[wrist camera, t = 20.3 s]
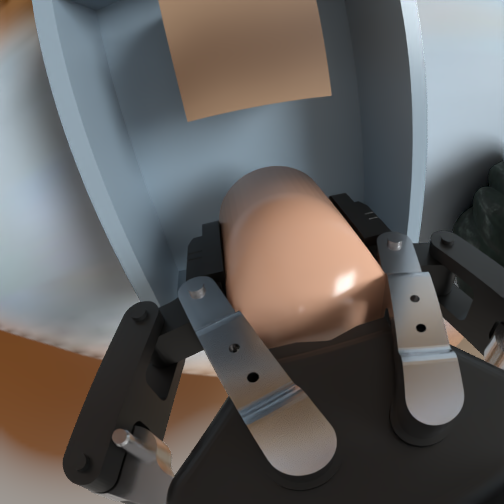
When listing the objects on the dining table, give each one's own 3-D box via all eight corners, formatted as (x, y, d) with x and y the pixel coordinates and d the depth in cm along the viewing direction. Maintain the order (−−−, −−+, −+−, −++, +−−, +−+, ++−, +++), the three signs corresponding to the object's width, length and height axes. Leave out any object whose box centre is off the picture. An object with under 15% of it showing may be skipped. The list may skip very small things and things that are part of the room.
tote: (84, 6, 10) (30, -12, 5) (341, -41, 10) (397, -71, 5) (171, 275, 20) (165, 344, 15) (369, 229, 20) (411, 283, 15)
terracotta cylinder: (206, 180, 13) (210, 293, 7) (321, 156, 13) (409, 245, 7) (232, 271, 16) (250, 394, 10) (327, 249, 16) (386, 357, 10)
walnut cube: (172, 12, 11) (155, -12, 7) (277, -7, 11) (308, -34, 7) (193, 104, 14) (187, 121, 9) (294, 84, 14) (331, 95, 9)
